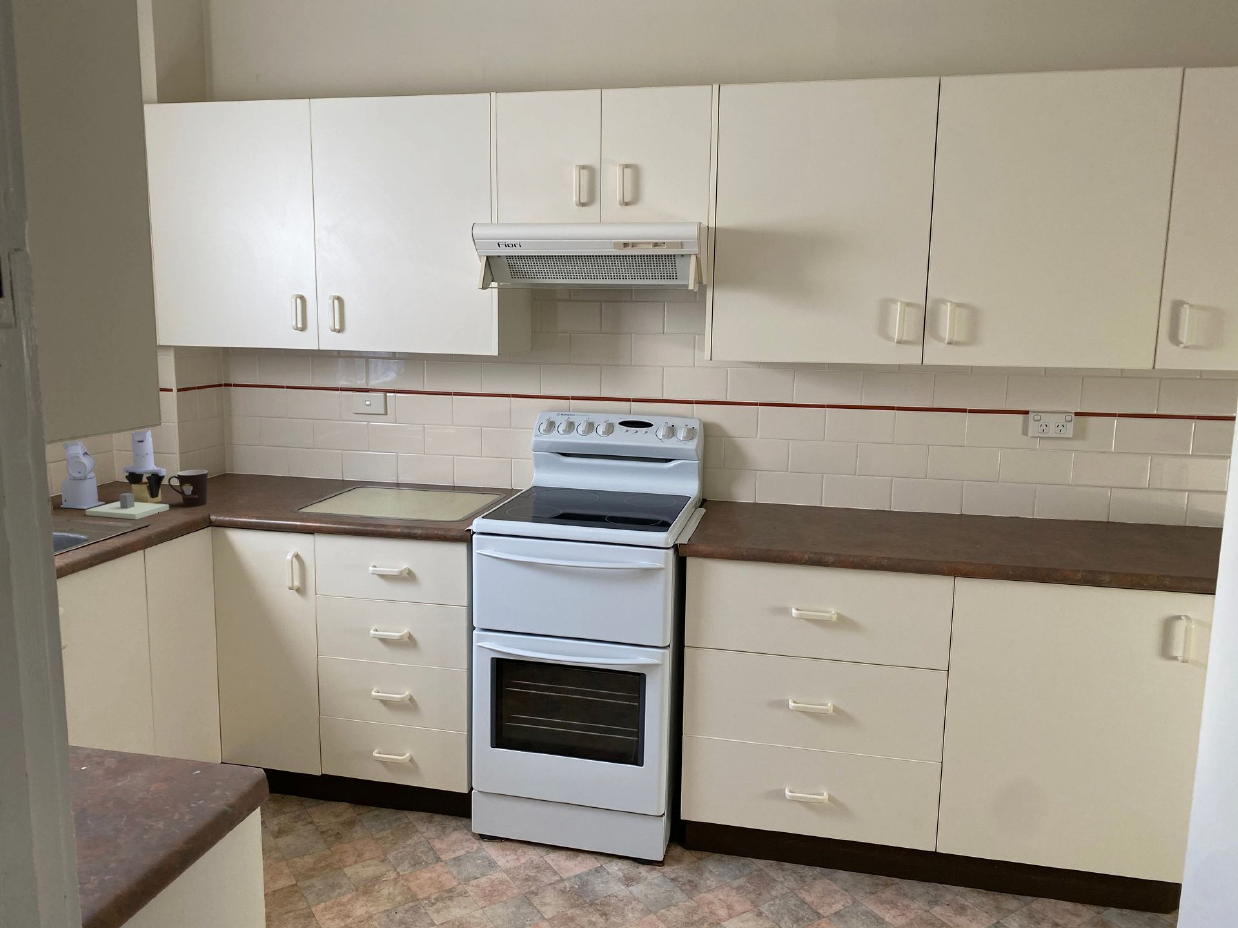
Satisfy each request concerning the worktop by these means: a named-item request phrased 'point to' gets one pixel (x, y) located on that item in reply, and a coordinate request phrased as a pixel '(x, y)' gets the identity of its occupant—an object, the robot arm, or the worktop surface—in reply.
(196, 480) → the coffee mug
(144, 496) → the brass collar
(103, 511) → the post stand
